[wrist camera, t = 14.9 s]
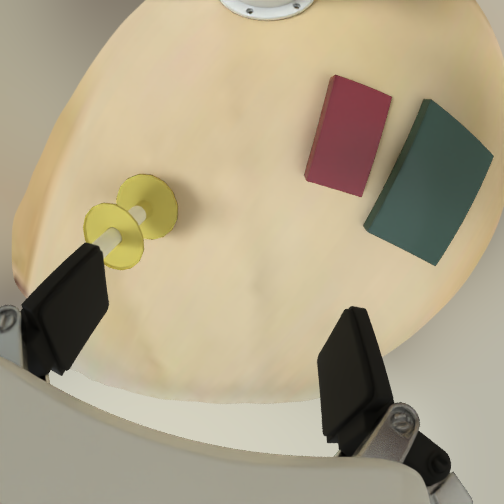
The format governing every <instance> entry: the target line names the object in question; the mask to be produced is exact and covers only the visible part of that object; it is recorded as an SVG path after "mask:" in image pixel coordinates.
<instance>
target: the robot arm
mask: <svg viewBox="0 0 504 504" xmlns="http://www.w3.org/2000/svg"><path fill="white" fill-rule="evenodd" d="M220 1H221V3H222V4H223V5H224V6H225V7H226V8H228V9H229V10H231V11H232V12H234V13H236V14H238V15H240V16H243V17H246V18H250V19H256V20H280V19H284V18H289V17H292V16H294V15H297V14H299V13H301V12H302V11H304V10H305V9H307V8H308V7H309V6H310V5H311V4H312V3H313V1H314V0H220ZM295 7H298V9H296V8H295ZM249 12H253V13H251V14H248V13H249ZM108 306H109V301H108V294H107V286H106V278H105V269H104V258H103V252H102V251H101V250H100V247H99V246H98V245H94V244H91V243H84V244H83V245H82V246H80V247H79V248H78V249H77V250H76V251H75V252H74V253H73V254H72V255H70V256H69V257H68V258H67V259H66V260H65V261H64V262H63V263H62V264H61V265H60V266H59V267H58V268H57V269H56V270H55V271H53V272H52V273H51V274H50V275H49V276H48V277H47V278H46V279H45V280H44V281H43V282H42V283H41V284H40V285H39V286H38V287H37V289H36V290H35V291H34V292H33V293H32V294H31V295H30V296H29V297H28V298H27V299H26V300H25V301H24V302H23V303H22V308H23V309H22V310H21V311H19V309H18V308H17V307H15V306H13V305H5V306H1V307H0V504H473V500H472V498H471V496H470V495H469V493H468V492H467V490H466V489H465V487H464V486H463V485H462V483H461V482H460V480H459V479H458V477H457V476H456V475H455V473H454V472H452V473H450V469H451V462H450V458H449V456H448V454H447V453H446V452H445V451H444V450H443V449H441V448H440V447H439V446H438V445H436V444H435V443H433V442H432V441H431V440H430V439H429V438H427V437H426V436H425V435H423V434H422V433H421V432H420V431H418V430H419V426H420V422H419V421H420V420H419V417H418V414H417V413H416V411H415V410H414V409H413V408H412V407H411V406H409V405H408V404H405V403H401V402H400V403H394V400H393V395H392V391H391V387H390V384H389V380H388V376H387V373H386V369H385V366H384V363H383V359H382V356H381V353H380V349H379V346H378V343H377V340H376V337H375V334H374V331H373V328H372V325H371V322H370V319H369V316H368V313H367V311H366V309H364V308H359V307H354V306H351V307H350V308H349V309H345V310H344V312H343V313H342V315H341V317H340V319H339V321H338V322H337V324H336V326H335V328H334V329H333V331H332V333H331V335H330V336H329V338H328V340H327V342H326V343H325V345H324V347H323V348H322V350H321V352H320V353H319V355H318V359H317V365H318V376H319V387H320V400H321V412H322V427H323V428H322V429H323V434H324V436H327V443H338V445H339V451H338V452H337V453H336V454H335V456H334V457H310V456H292V455H291V456H290V455H278V454H268V453H259V452H251V451H245V450H238V449H232V448H226V447H221V446H216V445H211V444H207V443H202V442H197V441H193V440H189V439H185V438H182V437H178V436H174V435H171V434H167V433H164V432H161V431H157V430H154V429H151V428H148V427H145V426H142V425H139V424H136V423H134V422H131V421H128V420H126V419H123V418H120V417H118V416H115V415H113V414H110V413H108V412H105V411H103V410H101V409H98V408H96V407H94V406H92V405H90V404H88V403H85V402H83V401H81V400H79V399H77V398H75V397H73V396H71V395H69V394H67V393H65V392H64V391H62V390H60V389H58V388H56V387H54V386H52V385H51V384H50V381H49V375H48V374H49V372H50V370H52V371H54V372H56V373H57V374H59V375H61V376H62V375H63V373H64V372H65V370H66V371H67V370H69V369H70V367H71V366H72V364H73V363H74V361H75V359H76V358H77V356H78V354H79V353H80V351H81V350H82V348H83V346H84V345H85V343H86V342H87V340H88V339H89V337H90V336H91V334H92V333H93V331H94V329H95V328H96V326H97V325H98V323H99V322H100V321H101V319H102V318H103V316H104V315H105V313H106V312H107V310H108Z"/></svg>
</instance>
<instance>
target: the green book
mask: <svg viewBox="0 0 504 504" xmlns="http://www.w3.org/2000/svg"><path fill="white" fill-rule="evenodd" d="M493 157H494V156H493V155H492V154H491V152H490V151H489V150H488V149H487V148H486V147H485V146H484V145H483V144H482V143H481V142H480V141H479V140H478V139H477V138H476V137H475V136H474V135H473V134H471V133H470V132H469V131H468V130H467V129H466V128H465V127H464V126H463V125H462V124H461V123H459V122H458V121H457V120H456V119H455V118H454V117H452V116H451V115H450V114H449V113H448V112H447V111H445V110H444V109H443V108H442V107H440V106H439V105H438V104H437V103H435V102H434V101H433V100H431V99H424V100H423V103H422V105H421V108H420V110H419V112H418V115H417V117H416V120H415V122H414V124H413V127H412V129H411V131H410V134H409V136H408V138H407V140H406V142H405V145H404V147H403V149H402V151H401V153H400V155H399V158H398V160H397V162H396V164H395V166H394V168H393V170H392V172H391V174H390V176H389V178H388V180H387V182H386V184H385V186H384V188H383V190H382V192H381V194H380V196H379V198H378V200H377V201H376V203H375V205H374V207H373V209H372V211H371V213H370V214H369V216H368V218H367V220H366V222H365V224H364V225H363V226H364V228H365V229H366V231H367V232H369V233H371V234H373V235H375V236H377V237H379V238H381V239H383V240H385V241H387V242H389V243H391V244H393V245H395V246H397V247H399V248H401V249H403V250H405V251H407V252H409V253H411V254H413V255H415V256H417V257H419V258H421V259H423V260H425V261H427V262H428V263H430V264H432V265H434V266H436V265H437V263H438V262H439V260H440V259H441V257H442V256H443V254H444V252H445V251H446V249H447V248H448V246H449V244H450V243H451V241H452V239H453V238H454V236H455V234H456V233H457V231H458V229H459V227H460V226H461V224H462V222H463V220H464V218H465V217H466V215H467V213H468V211H469V209H470V207H471V205H472V203H473V201H474V199H475V197H476V195H477V193H478V191H479V189H480V187H481V185H482V183H483V180H484V178H485V176H486V174H487V171H488V169H489V167H490V164H491V162H492V159H493Z"/></svg>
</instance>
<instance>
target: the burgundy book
mask: <svg viewBox="0 0 504 504" xmlns="http://www.w3.org/2000/svg"><path fill="white" fill-rule="evenodd" d="M391 99H392V97H391V96H389V95H387V94H384V93H382V92H380V91H377V90H375V89H373V88H370V87H368V86H365V85H363V84H360V83H357V82H355V81H352V80H349V79H346V78H344V77H341V76H338V75H334V76H333V77H331V78H330V81H329V85H328V89H327V93H326V97H325V101H324V104H323V108H322V112H321V116H320V120H319V123H318V127H317V131H316V134H315V138H314V142H313V145H312V149H311V152H310V156H309V160H308V163H307V167H306V170H305V174H304V176H305V178H306V181H309V182H312V183H316V184H319V185H323V186H326V187H329V188H333V189H336V190H339V191H343V192H346V193H349V194H352V195H355V196H359V197H362V194H363V191H364V189H365V186H366V183H367V180H368V177H369V174H370V171H371V168H372V165H373V162H374V159H375V155H376V152H377V149H378V146H379V142H380V139H381V136H382V132H383V129H384V125H385V122H386V118H387V114H388V111H389V107H390V103H391Z"/></svg>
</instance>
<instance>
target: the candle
mask: <svg viewBox="0 0 504 504" xmlns="http://www.w3.org/2000/svg"><path fill="white" fill-rule="evenodd" d="M116 201H117V204H110V203H101V204H99V205H96V206H94V207H92V208H91V209H90V211H89V212H88V213H87V215H86V216H85V220H84V225H83V231H84V237H85V241H86V243H91V244H94V245H98V246H99V247H100V250H101V251H102V252H103V258H104V265H106V266H108V267H109V268H113V269H117V270H125V269H130V268H132V267H133V266H135V265H136V264H137V263H138V262H139V261H140V259H141V256H142V254H143V251H144V240H143V238H145V239H151V240H153V239H157V238H161V237H164V236H165V235H166V234H167V233H168V232H170V231H171V230H172V229H173V227H174V224H175V222H176V220H177V214H178V205H177V202H176V199H175V196H174V193H173V192H172V190H171V189H170V188H169V187H168V186H167V184H166V183H165V182H164V181H162V180H160V179H159V178H157V177H155V176H153V175H146V174H138V175H136V176H133V177H130V178H128V179H127V180H126V181H125V182H124V184H123V185H122V186H121V187H120V189H119V192H118V195H117V198H116Z"/></svg>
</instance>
